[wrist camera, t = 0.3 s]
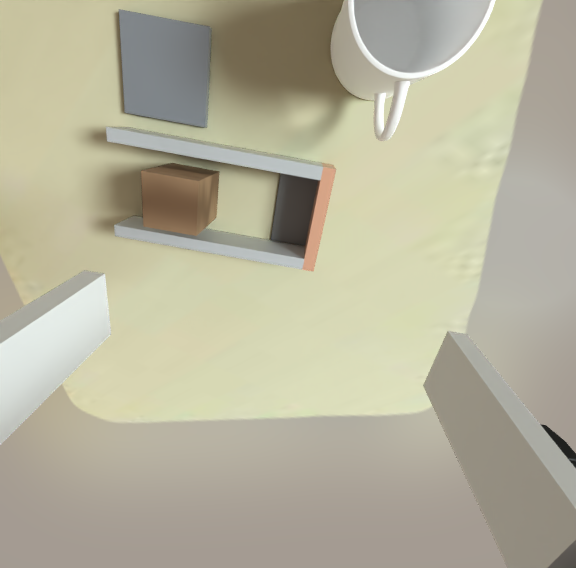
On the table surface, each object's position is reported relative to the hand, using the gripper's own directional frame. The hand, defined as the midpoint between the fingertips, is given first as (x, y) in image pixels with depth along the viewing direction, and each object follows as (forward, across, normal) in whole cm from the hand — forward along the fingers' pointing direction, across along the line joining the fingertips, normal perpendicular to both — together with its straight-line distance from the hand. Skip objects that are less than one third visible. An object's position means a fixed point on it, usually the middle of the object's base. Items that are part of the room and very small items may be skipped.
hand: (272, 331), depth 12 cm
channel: (+25, -8, 0) cm, 26 cm away
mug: (+24, +5, +14) cm, 28 cm away
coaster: (+24, -14, +10) cm, 30 cm away
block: (+25, -11, 0) cm, 27 cm away
